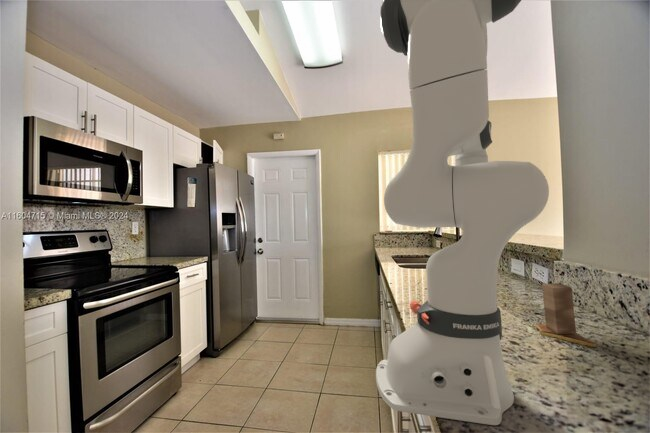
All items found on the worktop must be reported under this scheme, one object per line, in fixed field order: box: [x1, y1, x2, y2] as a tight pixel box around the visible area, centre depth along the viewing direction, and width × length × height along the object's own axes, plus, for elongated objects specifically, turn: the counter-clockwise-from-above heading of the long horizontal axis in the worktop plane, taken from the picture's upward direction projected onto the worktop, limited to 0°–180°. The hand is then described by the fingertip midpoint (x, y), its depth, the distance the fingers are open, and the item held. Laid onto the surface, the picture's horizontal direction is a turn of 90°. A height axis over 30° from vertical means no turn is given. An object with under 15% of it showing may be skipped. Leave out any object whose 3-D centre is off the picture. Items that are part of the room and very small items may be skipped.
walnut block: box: [541, 282, 577, 334], centre depth 65 cm, size 4×4×11 cm
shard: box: [533, 323, 598, 348], centre depth 64 cm, size 11×8×2 cm
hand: (473, 213), depth 82 cm, fingers open, 8 cm apart
